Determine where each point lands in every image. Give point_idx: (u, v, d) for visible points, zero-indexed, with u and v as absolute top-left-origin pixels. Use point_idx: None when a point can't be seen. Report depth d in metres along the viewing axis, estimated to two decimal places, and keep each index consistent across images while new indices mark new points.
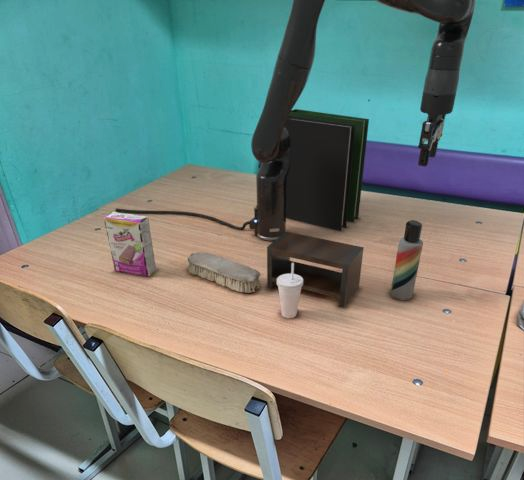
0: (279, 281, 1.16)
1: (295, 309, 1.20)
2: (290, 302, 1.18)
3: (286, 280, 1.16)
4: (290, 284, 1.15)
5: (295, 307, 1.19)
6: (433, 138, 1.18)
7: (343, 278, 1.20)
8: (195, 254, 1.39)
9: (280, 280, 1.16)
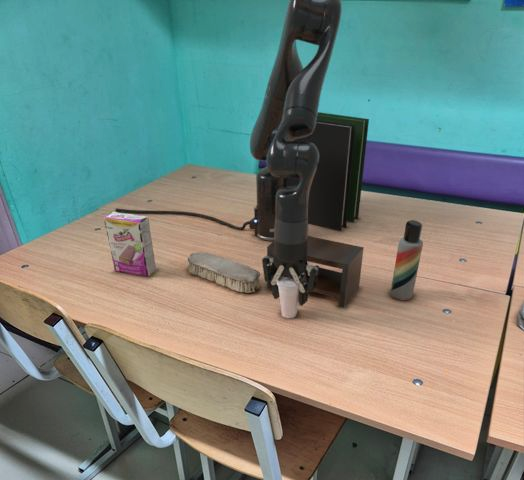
0: (279, 281, 1.16)
1: (295, 309, 1.20)
2: (290, 302, 1.18)
3: (286, 280, 1.16)
4: (290, 284, 1.15)
5: (295, 307, 1.19)
6: None
7: (343, 278, 1.20)
8: (195, 254, 1.39)
9: (280, 280, 1.16)
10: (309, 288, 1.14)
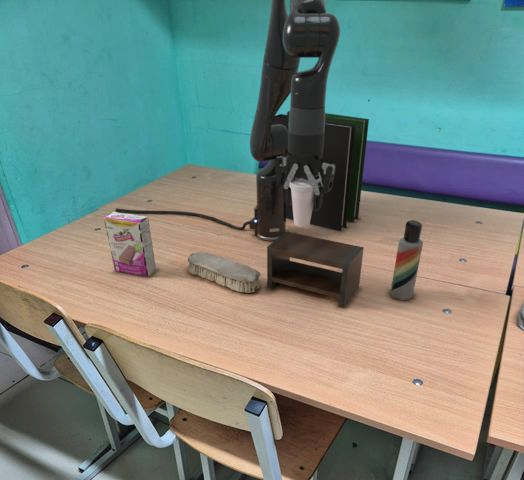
0: (292, 183, 1.09)
1: (308, 216, 1.12)
2: (303, 207, 1.10)
3: (300, 182, 1.09)
4: (304, 185, 1.07)
5: (308, 214, 1.12)
6: None
7: (343, 278, 1.20)
8: (195, 254, 1.39)
9: (293, 182, 1.09)
10: (324, 189, 1.06)
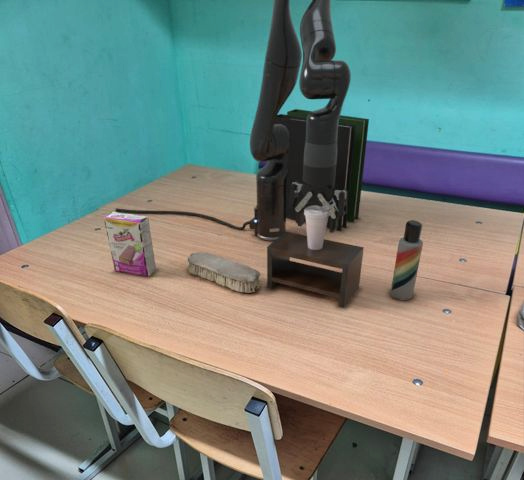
0: (307, 211, 1.19)
1: (321, 240, 1.23)
2: (317, 233, 1.21)
3: (313, 210, 1.19)
4: (318, 213, 1.18)
5: (322, 238, 1.22)
6: (300, 202, 1.19)
7: (343, 278, 1.20)
8: (195, 254, 1.39)
9: (308, 210, 1.19)
10: (340, 213, 1.16)
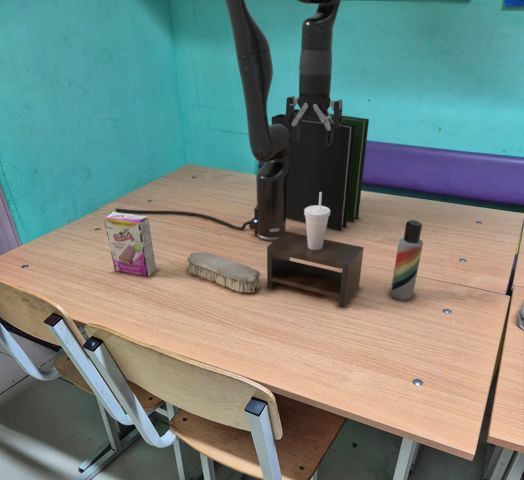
0: (307, 211, 1.19)
1: (321, 240, 1.23)
2: (317, 233, 1.21)
3: (313, 210, 1.19)
4: (318, 213, 1.18)
5: (322, 238, 1.22)
6: None
7: (343, 278, 1.20)
8: (195, 254, 1.39)
9: (308, 210, 1.19)
10: (335, 124, 1.19)
